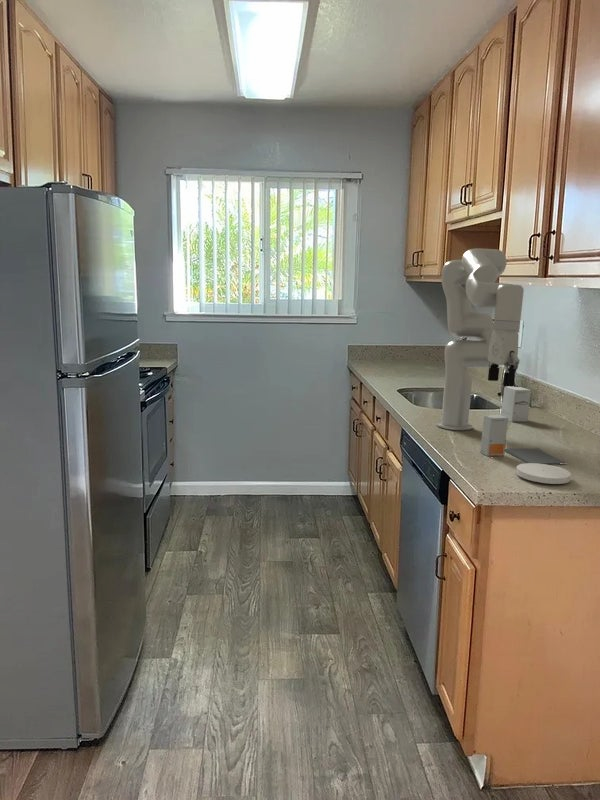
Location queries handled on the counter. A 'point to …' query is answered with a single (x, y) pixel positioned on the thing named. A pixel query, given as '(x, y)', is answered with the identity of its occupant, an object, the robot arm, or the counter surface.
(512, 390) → the supplement box
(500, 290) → the robot arm
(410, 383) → the counter surface
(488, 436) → the skincare box
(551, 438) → the counter surface
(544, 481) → the plastic lid
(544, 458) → the mat
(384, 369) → the counter surface
